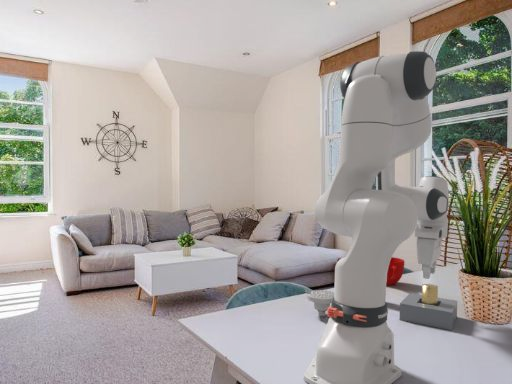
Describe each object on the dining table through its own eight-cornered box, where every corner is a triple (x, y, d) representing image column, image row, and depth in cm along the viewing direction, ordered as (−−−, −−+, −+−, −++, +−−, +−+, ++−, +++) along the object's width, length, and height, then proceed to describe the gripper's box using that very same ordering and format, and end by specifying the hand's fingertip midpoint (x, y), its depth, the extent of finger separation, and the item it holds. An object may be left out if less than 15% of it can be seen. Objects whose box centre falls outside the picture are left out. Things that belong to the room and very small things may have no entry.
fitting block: (451, 330, 109) (452, 312, 109) (399, 319, 116) (400, 303, 116) (456, 316, 121) (457, 300, 120) (409, 308, 128) (409, 293, 128)
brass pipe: (435, 322, 115) (436, 288, 115) (419, 319, 118) (420, 286, 117) (437, 317, 119) (438, 285, 119) (422, 315, 121) (423, 283, 121)
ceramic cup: (378, 289, 150) (378, 263, 150) (367, 279, 167) (368, 256, 167) (412, 290, 150) (412, 265, 150) (397, 280, 167) (398, 256, 167)
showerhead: (306, 286, 125) (338, 288, 123) (305, 308, 125) (337, 311, 123) (303, 294, 116) (338, 296, 114) (303, 318, 116) (337, 321, 114)
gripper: (425, 227, 128) (423, 269, 128) (413, 231, 111) (411, 279, 111) (447, 229, 125) (445, 272, 125) (437, 233, 108) (435, 283, 108)
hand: (429, 275), depth 118 cm, fingers open, 8 cm apart
